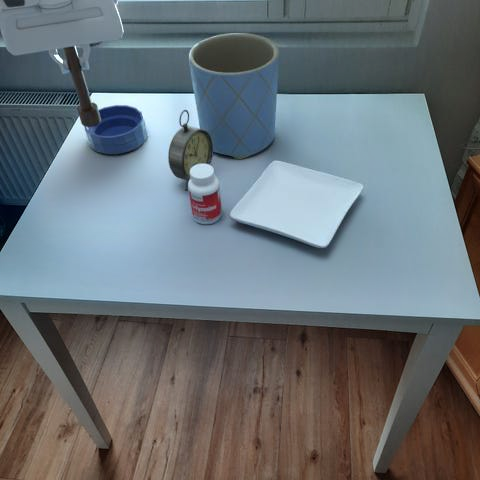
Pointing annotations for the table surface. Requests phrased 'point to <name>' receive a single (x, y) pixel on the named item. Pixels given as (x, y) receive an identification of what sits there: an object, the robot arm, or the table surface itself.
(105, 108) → the bowl
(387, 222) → the table surface
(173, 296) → the table surface
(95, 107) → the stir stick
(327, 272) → the table surface
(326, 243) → the salad plate
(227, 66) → the planter
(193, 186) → the pill bottle
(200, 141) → the alarm clock
